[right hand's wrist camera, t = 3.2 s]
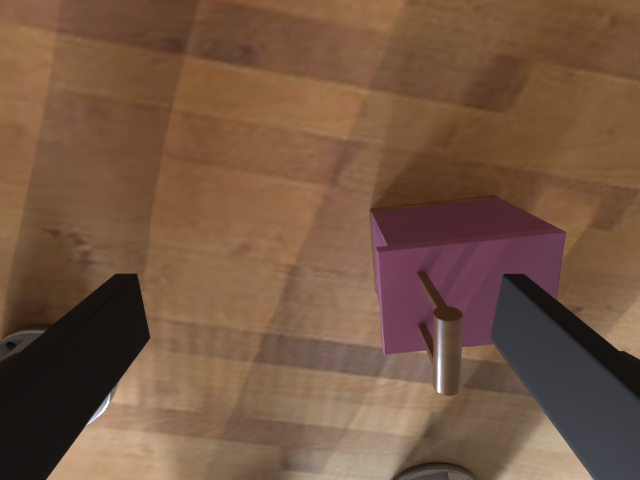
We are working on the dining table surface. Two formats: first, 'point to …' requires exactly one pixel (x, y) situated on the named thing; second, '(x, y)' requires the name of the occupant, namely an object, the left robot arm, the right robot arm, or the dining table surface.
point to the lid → (456, 292)
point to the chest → (447, 222)
